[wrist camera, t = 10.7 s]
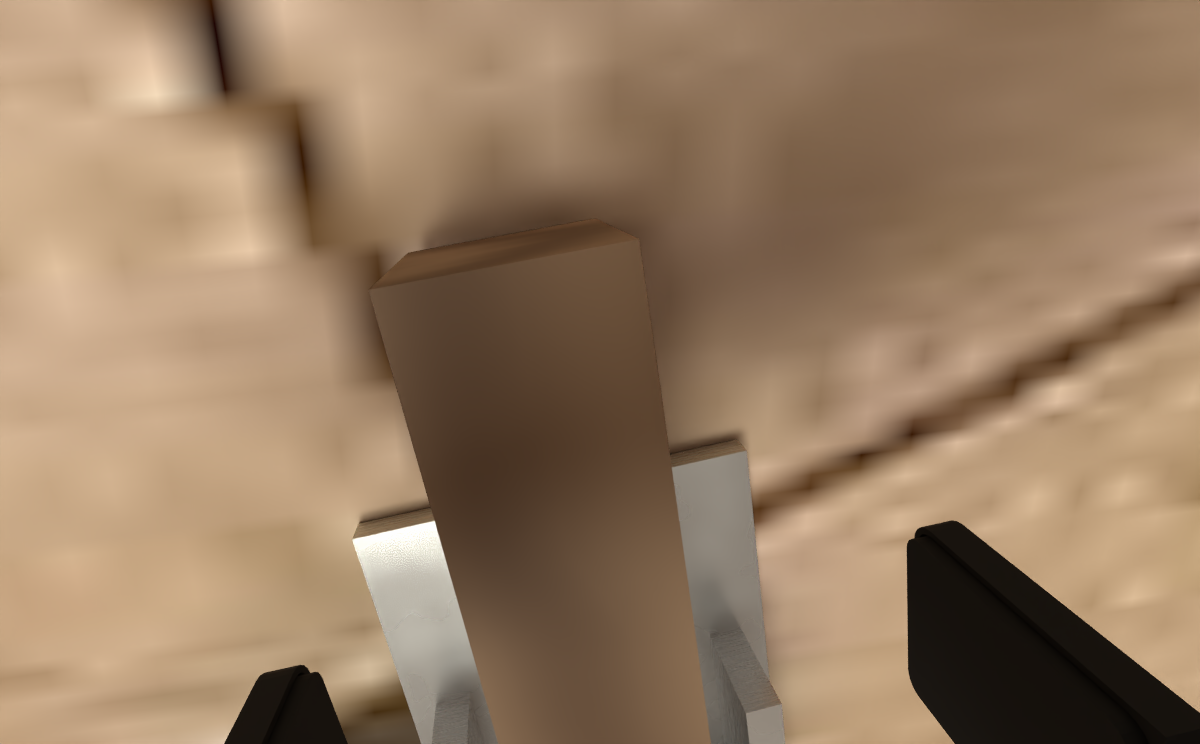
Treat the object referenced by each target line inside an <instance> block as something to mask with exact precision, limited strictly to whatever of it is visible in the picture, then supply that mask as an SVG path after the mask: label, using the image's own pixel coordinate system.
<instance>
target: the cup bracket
mask: <svg viewBox="0 0 1200 744" xmlns="http://www.w3.org/2000/svg"><path fill="white" fill-rule="evenodd" d="M670 459H671V466H672V473H673V480H674V487H675V494H676V501H677V508H678V515H679V522H680V529H681V536H682V543H683V550H684V557H685V564H686V571H687V578H688V585H689V592H690V599H691V606H692V613H693V620H694V627H695V634H696V641H697V649H698V656H699V663H700V670H701V677H702V684H703V691H704V698H705V705H706V712H707V719H708V726H709V733H710V740H711V744H785V735H784V724H783V713H782V704H781V702H780V700H779V698H778V696H777V694H776V692H775V691H774V689H773V687H772V685H771V683H770V681H769V671H768V661H767V651H766V641H765V631H764V620H763V610H762V600H761V590H760V580H759V570H758V560H757V550H756V540H755V529H754V519H753V509H752V499H751V489H750V479H749V469H748V459H747V450H746V449H745V448H744V447H743V446H742V445H741V444H740V443H739V441H738V440H737V439H736V440H731V441H727V442H722V443H718V444H714V445H709V446H705V447H700V448H696V449H691V450H687V451H682V452H678V453H673V454H670ZM352 540H353V543H354V546H355V549H356V552H357V555H358V558H359V561H360V564H361V567H362V569H363V572H364V575H365V578H366V581H367V584H368V587H369V590H370V593H371V596H372V599H373V602H374V605H375V608H376V611H377V614H378V617H379V620H380V623H381V626H382V629H383V632H384V634H385V637H386V640H387V643H388V646H389V649H390V652H391V655H392V658H393V661H394V664H395V667H396V670H397V673H398V676H399V679H400V682H401V685H402V688H403V691H404V694H405V697H406V699H407V702H408V705H409V708H410V711H411V714H412V717H413V720H414V723H415V726H416V729H417V732H418V735H419V738H420V741H421V744H498V741H497V737H496V734H495V730H494V727H493V723H492V720H491V716H490V713H489V709H488V706H487V702H486V699H485V696H484V692H483V689H482V685H481V682H480V678H479V675H478V671H477V668H476V664H475V661H474V657H473V654H472V650H471V647H470V643H469V640H468V636H467V633H466V629H465V626H464V622H463V619H462V615H461V612H460V608H459V605H458V601H457V598H456V594H455V591H454V587H453V584H452V580H451V577H450V573H449V570H448V566H447V563H446V559H445V556H444V552H443V549H442V545H441V542H440V538H439V535H438V531H437V528H436V524H435V521H434V517H433V514H432V510H431V508H427V509H422V510H418V511H413V512H409V513H404V514H400V515H395V516H391V517H386V518H382V519H377V520H373V521H368V522H364V523H359V524H358V526H357V529H356V531H355V534H354V536H353V539H352Z"/></svg>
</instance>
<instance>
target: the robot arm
mask: <svg viewBox="0 0 1200 744" xmlns="http://www.w3.org/2000/svg"><path fill="white" fill-rule="evenodd" d="M907 601H908V671H909V676H910V680H911V683H912V685H913V687H914V689H915V691H916V693H917V694H918V696H919V697H920V699H921V700H922V701H923V703H924V704H925V705H926V706H927V708H928V709H929V710H930V712H931V713H932V714H933V716H934V717H935V718H936V720H937V721H938V722H939V723H940V725H941V726H942V727H943V729H944V730H945V731H946V733H947V734H948V735H949V737H950V738H951V739H952V740H953V742H954V743H955V744H1200V713H1199V712H1198V711H1197V710H1195V709H1194V708H1193V707H1192V706H1190V705H1189V704H1188V703H1186V702H1185V701H1184V700H1183V699H1181V698H1180V697H1179V696H1178V695H1176V694H1175V693H1174V692H1173V691H1171V690H1170V689H1169V688H1168V687H1166V686H1165V685H1164V684H1163V683H1161V682H1160V681H1159V680H1158V679H1156V678H1155V677H1154V676H1152V675H1151V674H1150V673H1149V672H1147V671H1146V670H1145V669H1144V668H1142V667H1141V666H1140V665H1139V664H1137V663H1136V662H1135V661H1134V660H1132V659H1131V658H1130V657H1129V656H1127V655H1126V654H1125V653H1124V652H1122V651H1121V650H1120V649H1118V648H1117V647H1116V646H1115V645H1113V644H1112V643H1111V642H1110V641H1108V640H1107V639H1106V638H1105V637H1103V636H1102V635H1101V634H1100V633H1098V632H1097V631H1096V630H1095V629H1093V628H1092V627H1091V626H1090V625H1088V624H1087V623H1086V622H1085V621H1083V620H1082V619H1081V618H1079V617H1078V616H1077V615H1076V614H1074V613H1073V612H1072V611H1071V610H1069V609H1068V608H1067V607H1066V606H1064V605H1063V604H1062V603H1061V602H1059V601H1058V600H1057V599H1056V598H1054V597H1053V596H1052V595H1051V594H1049V593H1048V592H1047V591H1045V590H1044V589H1043V588H1042V587H1040V586H1039V585H1038V584H1037V583H1035V582H1034V581H1033V580H1032V579H1030V578H1029V577H1028V576H1027V575H1025V574H1024V573H1023V572H1022V571H1020V570H1019V569H1018V568H1017V567H1015V566H1014V565H1013V564H1011V563H1010V562H1009V561H1008V560H1006V559H1005V558H1004V557H1003V556H1001V555H1000V554H999V553H998V552H996V551H995V550H994V549H993V548H991V547H990V546H989V545H988V544H986V543H985V542H984V541H983V540H981V539H980V538H979V537H977V536H976V535H975V534H974V533H972V532H971V531H970V530H969V529H967V528H966V527H965V526H964V525H962V524H961V523H959V522H957V521H947V522H943V523H938V524H934V525H929V526H925V527H921V528H919V529H917V531H916V533H915V539H911V540H909V541H908V543H907ZM224 744H348V743H347V741H346V738H345V736H344V733H343V730H342V728H341V725H340V723H339V720H338V717H337V715H336V712H335V710H334V707H333V704H332V702H331V699H330V697H329V694H328V692H327V689H326V686H325V684H324V681H323V679H322V677H321V675H320V674H319V673H318V672H313V673H310V672H309V670H308V668H307V667H305V666H304V665H298V666H293V667H289V668H284V669H280V670H275V671H271V672H266V673H263V674H262V675H260V676H259V678H258V679H257V681H256V682H255V684H254V686H253V688H252V690H251V692H250V694H249V696H248V698H247V700H246V702H245V704H244V706H243V708H242V710H241V712H240V714H239V716H238V718H237V720H236V722H235V724H234V726H233V727H232V729H231V731H230V733H229V735H228V737H227V739H226V741H225V743H224Z"/></svg>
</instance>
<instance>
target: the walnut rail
mask: <svg viewBox="0 0 1200 744" xmlns="http://www.w3.org/2000/svg"><path fill="white" fill-rule="evenodd" d="M369 294H370V297H371V301H372V304H373V308H374V311H375V315H376V318H377V322H378V325H379V329H380V332H381V336H382V339H383V343H384V346H385V350H386V353H387V357H388V360H389V364H390V367H391V371H392V374H393V378H394V381H395V385H396V388H397V392H398V395H399V399H400V402H401V406H402V409H403V413H404V416H405V420H406V423H407V427H408V430H409V434H410V437H411V441H412V444H413V448H414V451H415V454H416V458H417V461H418V465H419V468H420V472H421V475H422V479H423V482H424V486H425V489H426V493H427V496H428V500H429V503H430V507H431V510H432V514H433V517H434V521H435V524H436V528H437V531H438V535H439V538H440V542H441V545H442V549H443V552H444V556H445V559H446V563H447V566H448V570H449V573H450V577H451V580H452V584H453V587H454V591H455V594H456V598H457V601H458V605H459V608H460V612H461V615H462V619H463V622H464V626H465V629H466V633H467V636H468V640H469V643H470V647H471V650H472V654H473V657H474V661H475V664H476V668H477V671H478V675H479V678H480V682H481V685H482V689H483V692H484V696H485V699H486V702H487V706H488V709H489V713H490V716H491V720H492V723H493V727H494V730H495V734H496V737H497V741H498V744H711V740H710V733H709V726H708V719H707V712H706V705H705V698H704V691H703V684H702V677H701V670H700V663H699V656H698V649H697V641H696V634H695V627H694V620H693V613H692V606H691V599H690V592H689V585H688V578H687V571H686V564H685V557H684V550H683V543H682V536H681V529H680V522H679V515H678V508H677V501H676V494H675V487H674V480H673V473H672V466H671V459H670V452H669V445H668V438H667V431H666V424H665V417H664V410H663V403H662V396H661V389H660V382H659V375H658V368H657V361H656V354H655V347H654V340H653V333H652V326H651V319H650V311H649V304H648V297H647V290H646V283H645V276H644V269H643V262H642V255H641V248H640V241H639V239H638V238H636V237H634V236H632V235H630V234H627V233H625V232H623V231H621V230H619V229H617V228H615V227H612V226H610V225H608V224H606V223H604V222H602V221H600V220H598V219H595V218H594V219H589V220H584V221H578V222H573V223H567V224H562V225H556V226H551V227H546V228H540V229H535V230H529V231H524V232H518V233H513V234H507V235H502V236H497V237H491V238H486V239H480V240H475V241H469V242H464V243H458V244H453V245H448V246H442V247H437V248H431V249H426V250H420V251H415V252H409V253H408V254H407V255H405V256H404V257H403V258H402V259H401V260H400V261H399V262H398V263H397V264H396V265H395V266H394V267H393V268H391V269H390V270H389V271H388V272H387V273H386V274H385V275H384V276H383V277H382V278H381V279H380V280H379V281H378V282H376V283H375V284H374V285H373V286H372V287H371V288H370V289H369Z"/></svg>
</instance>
